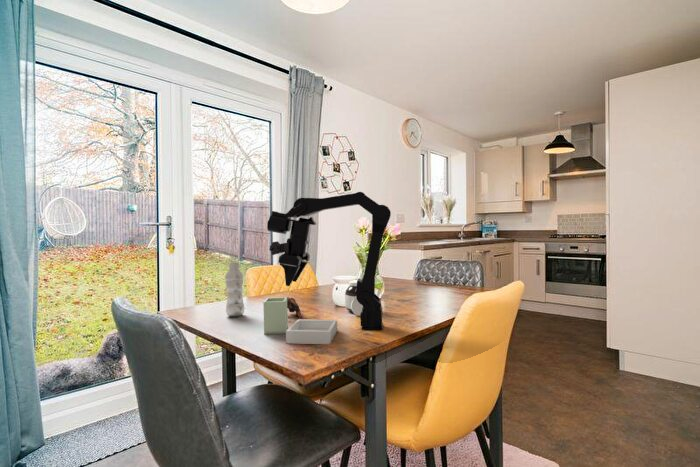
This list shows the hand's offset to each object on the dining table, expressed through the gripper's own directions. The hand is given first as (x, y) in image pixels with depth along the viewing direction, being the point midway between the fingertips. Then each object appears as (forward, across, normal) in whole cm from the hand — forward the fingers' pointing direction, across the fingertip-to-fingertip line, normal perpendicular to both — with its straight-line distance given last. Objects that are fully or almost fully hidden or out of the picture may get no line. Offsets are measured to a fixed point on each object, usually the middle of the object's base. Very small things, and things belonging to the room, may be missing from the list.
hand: (291, 283), depth 116 cm
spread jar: (+10, -20, +24) cm, 33 cm away
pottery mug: (+15, -14, -2) cm, 21 cm away
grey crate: (+12, +10, +11) cm, 20 cm away
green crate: (+15, +4, -1) cm, 16 cm away
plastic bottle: (+19, -15, -22) cm, 32 cm away
